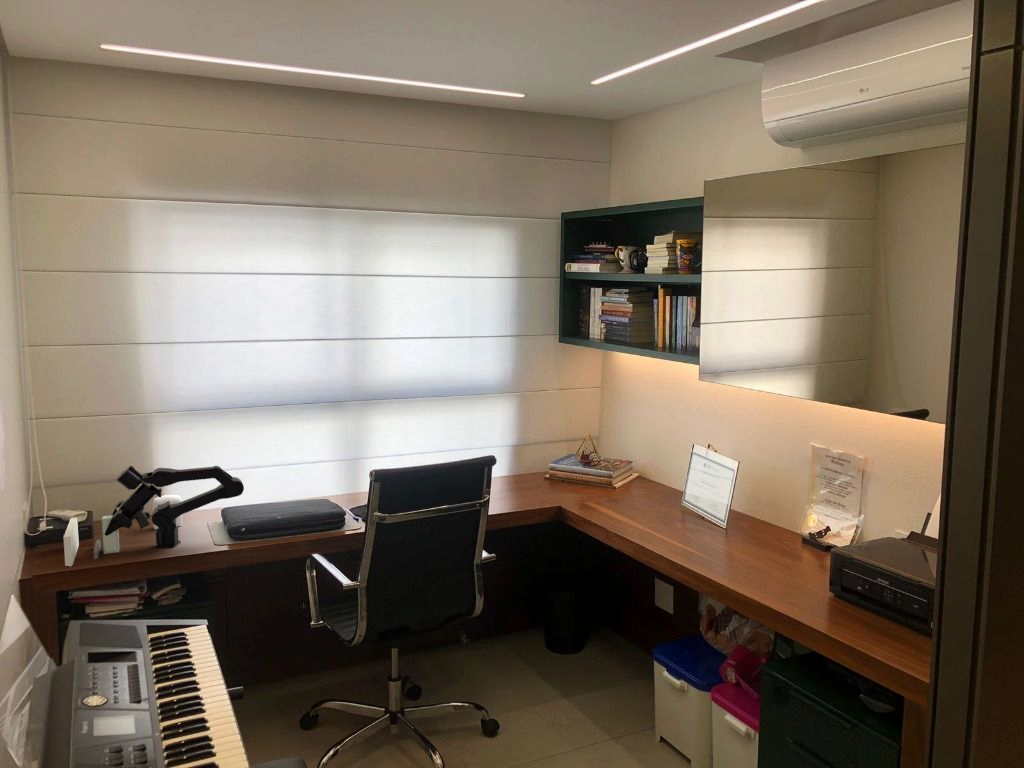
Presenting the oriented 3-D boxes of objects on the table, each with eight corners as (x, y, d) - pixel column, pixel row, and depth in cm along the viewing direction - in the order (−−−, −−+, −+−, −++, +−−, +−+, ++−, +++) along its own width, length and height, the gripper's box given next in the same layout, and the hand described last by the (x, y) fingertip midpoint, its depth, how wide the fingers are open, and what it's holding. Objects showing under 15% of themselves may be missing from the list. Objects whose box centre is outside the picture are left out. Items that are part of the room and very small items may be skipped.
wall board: (101, 542, 294) (100, 515, 293) (96, 563, 272) (95, 533, 271) (72, 545, 290) (70, 518, 289) (65, 566, 268) (63, 536, 267)
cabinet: (119, 548, 287) (117, 514, 286) (118, 552, 283) (116, 518, 282) (104, 550, 286) (102, 516, 284) (103, 554, 281) (101, 519, 280)
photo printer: (181, 523, 318) (179, 492, 317) (183, 526, 315) (182, 494, 313) (152, 527, 312) (151, 495, 311) (154, 530, 309) (153, 498, 307)
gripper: (158, 519, 280) (124, 555, 277) (158, 506, 297) (126, 539, 294) (131, 499, 276) (96, 535, 273) (133, 487, 293) (100, 520, 290)
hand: (106, 533), depth 283 cm, fingers closed on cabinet, 5 cm apart
